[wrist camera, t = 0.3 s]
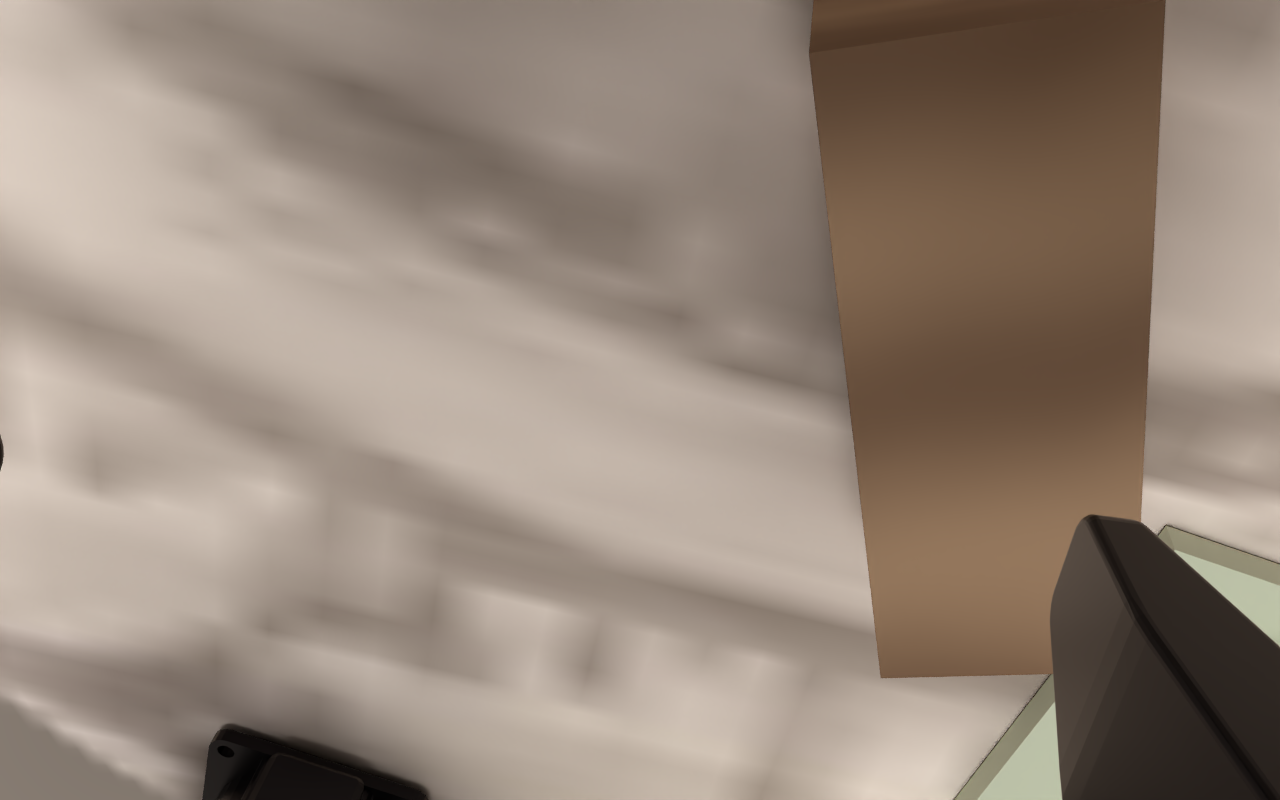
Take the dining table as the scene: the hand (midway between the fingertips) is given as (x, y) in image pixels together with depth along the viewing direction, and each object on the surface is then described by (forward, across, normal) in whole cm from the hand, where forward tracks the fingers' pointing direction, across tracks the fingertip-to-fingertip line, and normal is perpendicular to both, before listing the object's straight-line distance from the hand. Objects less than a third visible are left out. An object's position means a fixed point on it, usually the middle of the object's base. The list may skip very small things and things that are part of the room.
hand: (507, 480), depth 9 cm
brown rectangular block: (+14, -6, +4) cm, 15 cm away
